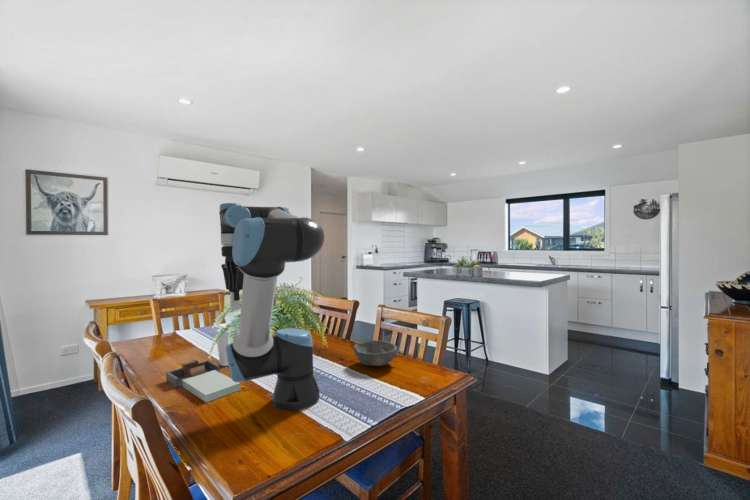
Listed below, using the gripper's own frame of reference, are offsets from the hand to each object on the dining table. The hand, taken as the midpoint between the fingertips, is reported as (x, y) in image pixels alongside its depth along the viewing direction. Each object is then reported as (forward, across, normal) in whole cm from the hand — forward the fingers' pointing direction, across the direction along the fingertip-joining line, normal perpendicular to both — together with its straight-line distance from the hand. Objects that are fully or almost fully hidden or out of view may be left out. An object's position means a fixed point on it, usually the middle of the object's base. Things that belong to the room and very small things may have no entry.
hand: (235, 309), depth 131 cm
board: (+28, +4, +8) cm, 29 cm away
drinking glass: (+27, +22, -8) cm, 36 cm away
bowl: (+28, -31, -44) cm, 60 cm away
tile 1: (+24, +20, +8) cm, 33 cm away
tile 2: (+26, +16, +8) cm, 31 cm away
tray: (+27, +19, +8) cm, 34 cm away
